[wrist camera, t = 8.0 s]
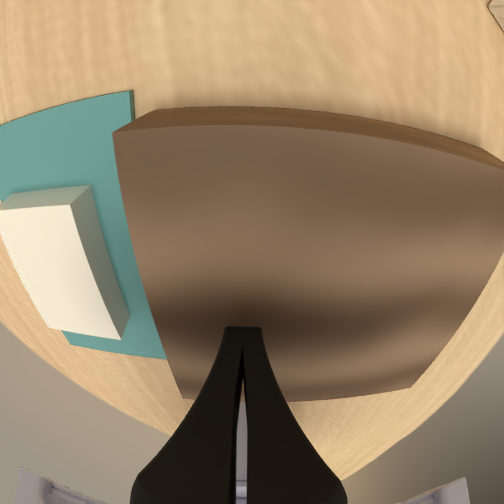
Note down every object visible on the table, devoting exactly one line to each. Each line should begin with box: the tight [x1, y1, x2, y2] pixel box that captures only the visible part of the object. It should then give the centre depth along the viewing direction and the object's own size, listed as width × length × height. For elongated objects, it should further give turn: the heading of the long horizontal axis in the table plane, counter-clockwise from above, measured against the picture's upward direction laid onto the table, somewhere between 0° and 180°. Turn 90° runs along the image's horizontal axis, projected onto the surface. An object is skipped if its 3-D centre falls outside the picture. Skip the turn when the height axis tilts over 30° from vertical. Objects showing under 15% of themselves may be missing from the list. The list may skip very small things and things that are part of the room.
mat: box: [0, 90, 167, 359], centre depth 15 cm, size 18×10×1 cm, turn 178°
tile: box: [0, 185, 130, 340], centre depth 14 cm, size 9×6×2 cm, turn 178°
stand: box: [112, 107, 504, 402], centre depth 13 cm, size 16×16×4 cm
